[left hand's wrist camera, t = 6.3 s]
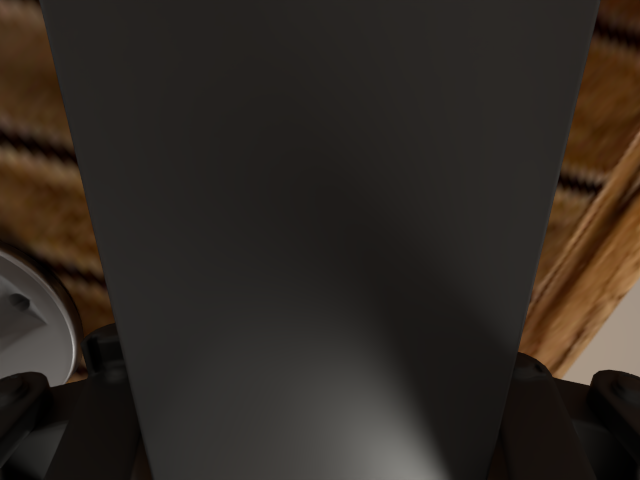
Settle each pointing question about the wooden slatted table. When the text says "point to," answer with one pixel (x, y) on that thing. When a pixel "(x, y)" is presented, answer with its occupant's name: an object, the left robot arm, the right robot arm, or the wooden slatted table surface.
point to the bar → (319, 219)
